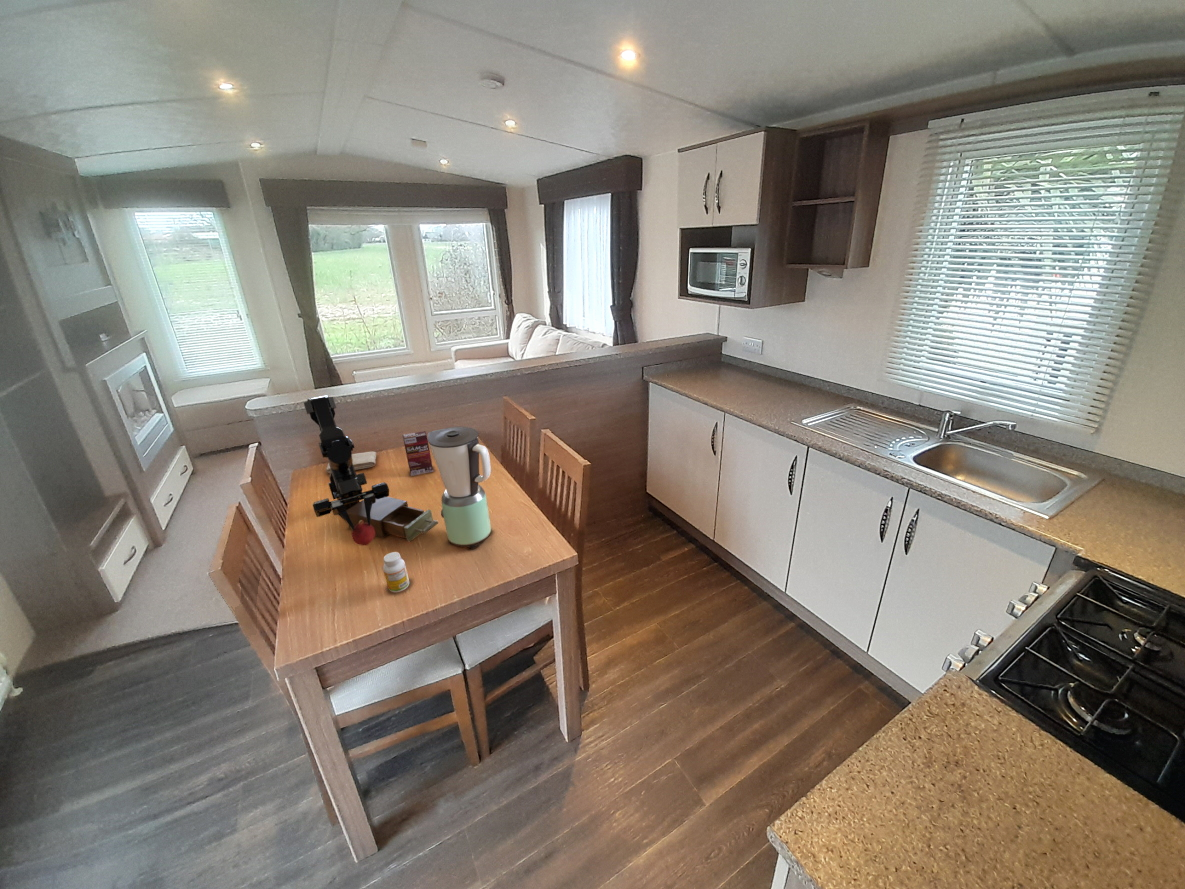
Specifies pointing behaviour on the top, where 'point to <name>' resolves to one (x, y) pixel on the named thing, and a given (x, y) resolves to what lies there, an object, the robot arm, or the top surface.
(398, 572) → the supplement bottle
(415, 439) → the supplement box
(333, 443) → the robot arm
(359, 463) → the washcloth
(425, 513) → the drawer
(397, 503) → the cabinet
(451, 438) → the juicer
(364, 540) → the onion
